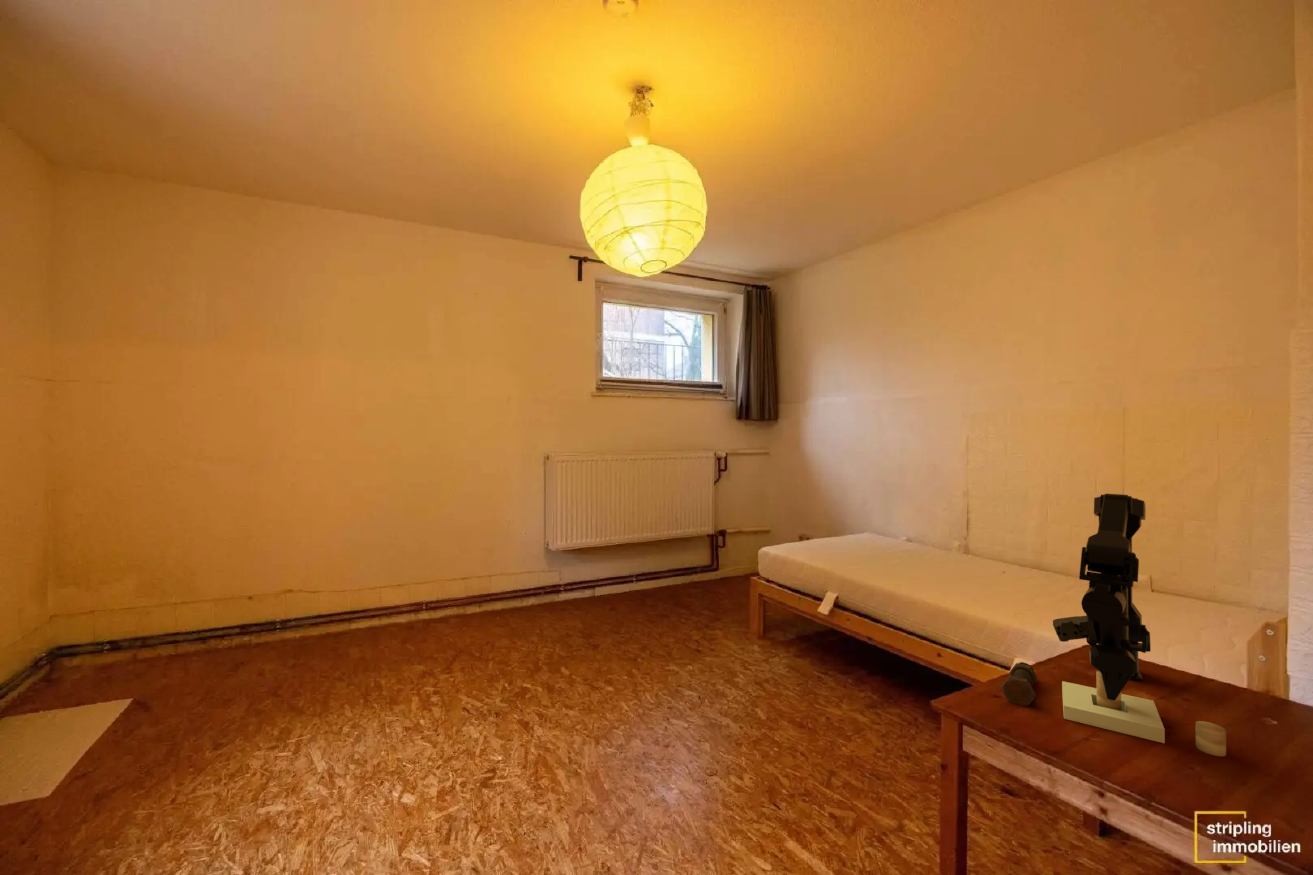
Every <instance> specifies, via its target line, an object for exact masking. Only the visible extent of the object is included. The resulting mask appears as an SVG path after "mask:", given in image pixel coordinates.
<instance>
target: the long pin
mask: <svg viewBox="0 0 1313 875" xmlns="http://www.w3.org/2000/svg"><path fill="white" fill-rule="evenodd" d="M1095 672H1096V688H1097V706H1101V707H1105V708H1109V709H1114V710H1118V711H1121V694H1122V691H1121V692H1120V694H1119V695H1118V697H1117V698H1116V700H1115V701H1113V700H1109V699H1107V695H1106V691H1105V687H1104V683H1103V679H1102V674H1101V672H1099V671H1098V670H1096V671H1095Z"/></svg>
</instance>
